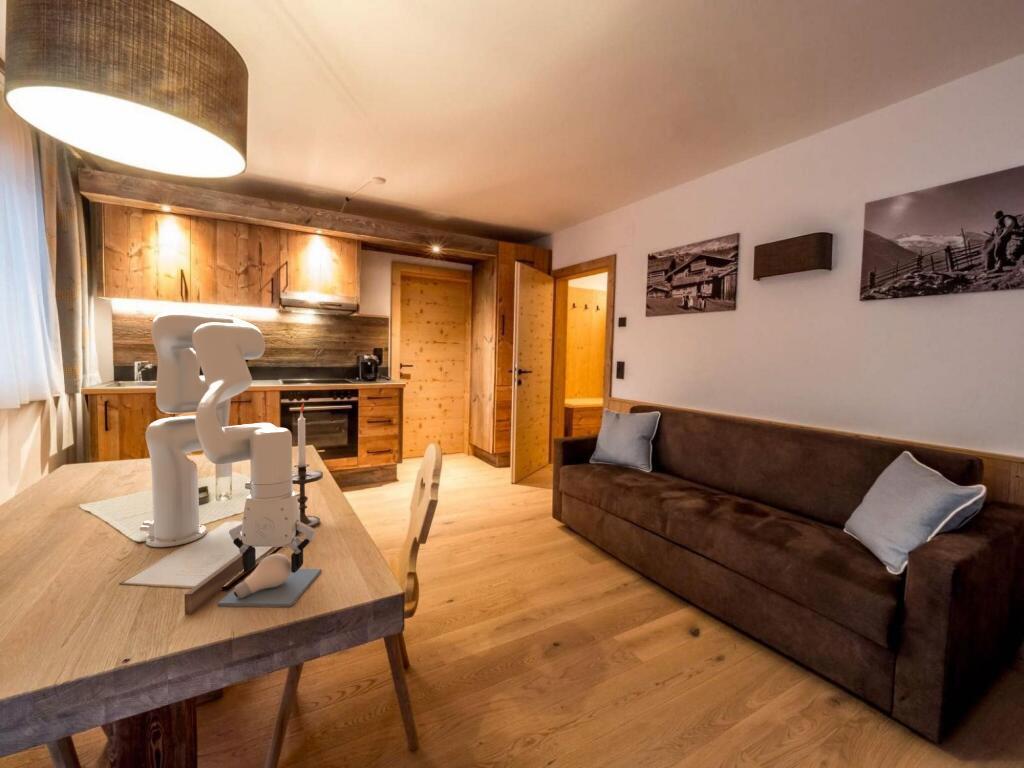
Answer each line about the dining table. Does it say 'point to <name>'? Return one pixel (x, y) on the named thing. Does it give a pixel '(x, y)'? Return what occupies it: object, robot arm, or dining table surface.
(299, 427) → the candlestick
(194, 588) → the low wall
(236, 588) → the light bulb
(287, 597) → the mat
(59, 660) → the dining table surface
